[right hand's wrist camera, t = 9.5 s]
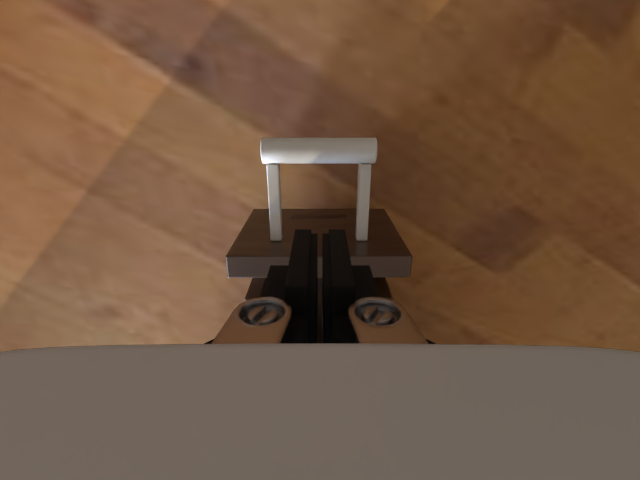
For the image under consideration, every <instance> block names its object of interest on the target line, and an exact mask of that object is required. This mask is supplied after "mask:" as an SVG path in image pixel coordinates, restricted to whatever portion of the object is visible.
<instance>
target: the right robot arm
mask: <svg viewBox="0 0 640 480" xmlns="http://www.w3.org/2000/svg"><path fill="white" fill-rule="evenodd" d="M317 325H318V249H317V233H311V229H295V233H294V238H293V243H292V248H291V254H290V259H289V264H288V265H271V266H270V268H269V271H268V275H267V278H266V281H265V285H264V288H263V292H262V295H261V297H258V298H253V299H250V300H247V301H245V302H243V303H241V304H240V305H238V306H237V307H236V308H235V309H234V311H233V312H232V314H231V315H230V317H229V318H228V320H227V321H226V323H225V324H224V326H223V327H222V329H221V330H220V332H219V333H218V335H217V336H216V337H215V339H213V340H211V341H209V342H207V343H205V344H167V345H102V346H69V347H48V348H34V349H21V350H13V351H5V352H0V480H640V352H635V351H627V350H618V349H608V348H591V347H574V346H536V345H477V344H435V343H433V342H431V341H429V340H427V339H425V337H424V336H423V335H422V333H421V332H420V330H419V329H418V327H417V326H416V324H415V323H414V321H413V320H412V318H411V317H410V315H409V314H408V312H407V311H406V309H405V308H404V307H403V306H402V305H400V304H399V303H397V302H395V301H393V300H390V299H387V298H382V297H379V295H378V292H377V288H376V285H375V281H374V278H373V275H372V271H371V268H370V266H369V265H352V264H351V259H350V254H349V248H348V243H347V238H346V233H345V229H329V233H323V248H322V325H323V344H317Z"/></svg>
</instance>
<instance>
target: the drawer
mask: <svg viewBox="0 0 640 480" xmlns="http://www.w3.org/2000/svg"><path fill="white" fill-rule="evenodd" d="M260 152H261V160H262V163H264V164H267V166H266V167H267V185H268V203H269V209H254V210H253V211H252V213H251V215H250V216H249V218H248V220H247V221H246V223H245V225H244V227H243V228H242V230H241V232H240V233H239V235H238V237H237V238H236V240H235V242H234V243H233V245H232V247H231V248H230V250H229V252H228V254H227V255H226V265H227V274H228V277H229V278H253V279H252V281H251V284H250V287H249V289H248V292H247V295H246V298H245V301H247V300H250V299H253V298H258V297H261V295H262V292H263V288H264V285H265V281H266V278H267V275H268V271H269V268H270V266H271V265H288V264H289V259H290V254H291V248H292V243H293V238H294V233H295V229H311V233H317V249H318V325H317V344H323V325H322V248H323V233H329V229H345V233H346V238H347V243H348V248H349V254H350V259H351V264H352V265H369V266H370V268H371V271H372V275H373V278H374V281H375V285H376V288H377V292H378V295H379V297H382V298H387V299H390V300H393V297H392V294H391V292H390V289H389V286H388V284H387V281H386V278H385V277H410V274H411V265H412V255H411V253H410V252H409V250H408V248H407V247H406V245H405V243H404V242H403V240H402V238H401V236H400V235H399V233H398V231H397V230H396V228H395V226H394V225H393V223H392V221H391V220H390V218H389V216H388V215H387V213H386V211H385V210H384V209H369V201H370V182H371V164H370V163H375V162H376V159H377V139H376V138H262V139H261V143H260ZM280 164H358V185H357V209H281V188H280Z"/></svg>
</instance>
